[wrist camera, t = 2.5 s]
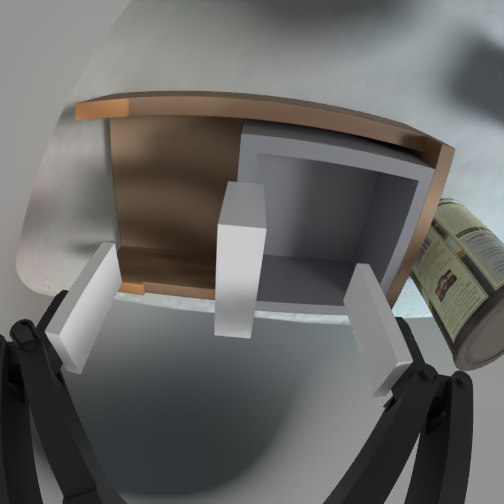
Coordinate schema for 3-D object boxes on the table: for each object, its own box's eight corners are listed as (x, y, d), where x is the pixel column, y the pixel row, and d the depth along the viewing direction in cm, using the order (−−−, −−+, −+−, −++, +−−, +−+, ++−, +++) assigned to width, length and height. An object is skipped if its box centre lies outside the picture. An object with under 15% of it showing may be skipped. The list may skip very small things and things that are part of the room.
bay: (114, 93, 20) (62, 107, 14) (404, 123, 21) (455, 148, 15) (126, 249, 29) (97, 301, 23) (360, 270, 30) (383, 325, 24)
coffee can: (464, 266, 30) (519, 349, 18) (396, 284, 31) (441, 384, 20) (476, 191, 24) (559, 269, 13) (400, 205, 26) (477, 305, 14)
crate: (239, 115, 20) (221, 158, 10) (391, 141, 21) (481, 204, 11) (228, 254, 27) (214, 362, 18) (355, 265, 28) (393, 364, 18)
